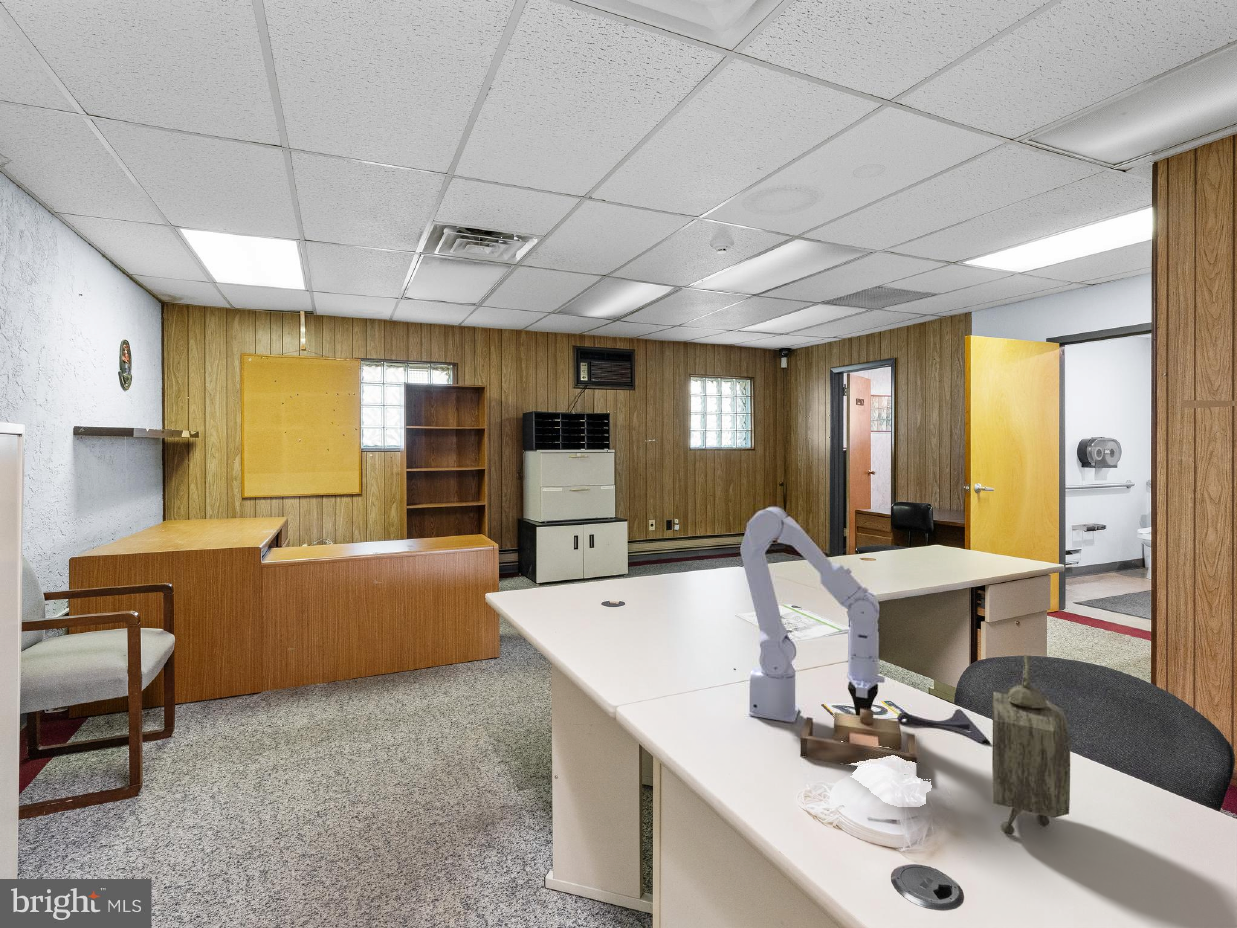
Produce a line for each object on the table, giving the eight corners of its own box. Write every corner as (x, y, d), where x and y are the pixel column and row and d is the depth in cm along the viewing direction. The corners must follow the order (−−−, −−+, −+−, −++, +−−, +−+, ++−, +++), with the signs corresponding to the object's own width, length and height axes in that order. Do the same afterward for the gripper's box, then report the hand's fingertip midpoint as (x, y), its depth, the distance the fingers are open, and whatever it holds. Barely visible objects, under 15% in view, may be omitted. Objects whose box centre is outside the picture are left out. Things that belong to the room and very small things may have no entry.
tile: (849, 756, 115) (849, 742, 115) (849, 744, 120) (849, 731, 120) (878, 761, 113) (878, 747, 113) (877, 748, 118) (877, 735, 118)
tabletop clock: (992, 791, 103) (993, 640, 102) (1058, 806, 98) (1060, 649, 98) (993, 837, 90) (995, 666, 90) (1070, 858, 86) (1072, 678, 85)
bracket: (889, 711, 136) (889, 699, 136) (962, 716, 133) (963, 703, 133) (907, 742, 122) (907, 728, 121) (990, 748, 119) (990, 734, 119)
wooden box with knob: (833, 741, 121) (834, 711, 121) (834, 729, 126) (834, 700, 126) (901, 752, 116) (901, 721, 116) (898, 738, 122) (899, 709, 122)
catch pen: (800, 756, 114) (800, 737, 114) (806, 734, 123) (806, 716, 123) (917, 777, 107) (917, 757, 107) (914, 753, 115) (914, 734, 115)
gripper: (884, 667, 118) (883, 738, 118) (884, 645, 131) (884, 709, 131) (845, 662, 120) (844, 732, 121) (849, 641, 134) (848, 704, 134)
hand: (862, 720), depth 126 cm, fingers closed
